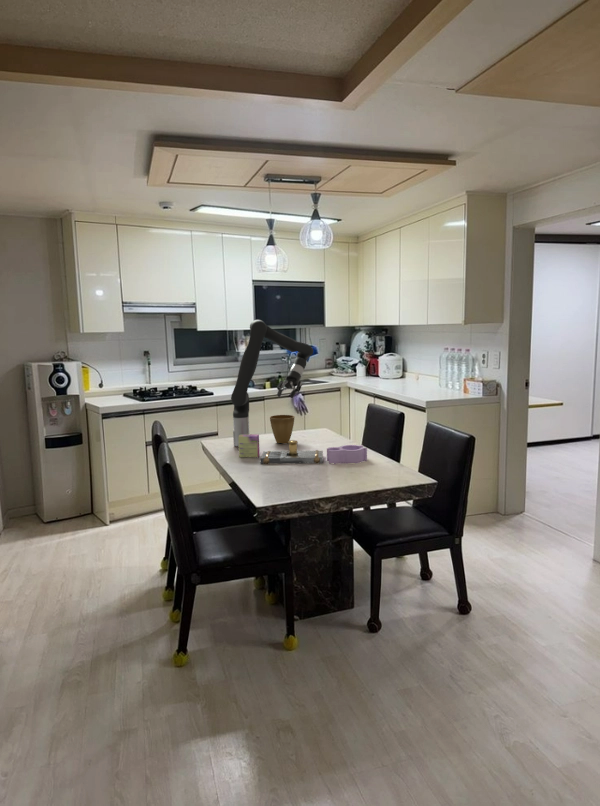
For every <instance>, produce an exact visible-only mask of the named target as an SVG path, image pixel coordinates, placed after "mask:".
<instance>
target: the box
mask: <svg viewBox="0 0 600 806" xmlns="http://www.w3.org/2000/svg"><path fill="white" fill-rule="evenodd" d="M238 439H239V447H238V458H256V457H258V458H259V457H260V454H261V453H260V434H252V433H251V434H240V435H239V437H238Z"/></svg>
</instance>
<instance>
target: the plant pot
mask: <svg viewBox="0 0 600 806" xmlns="http://www.w3.org/2000/svg"><path fill="white" fill-rule="evenodd" d="M269 420H270V427H271V430H272V434H273V436H274V440H275V442H276V444H278V443H287V444H289V443H288V441H290V440H291V437H292V434H293V429H294V424H295V415H292V414H276V415H272V416H269Z"/></svg>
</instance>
